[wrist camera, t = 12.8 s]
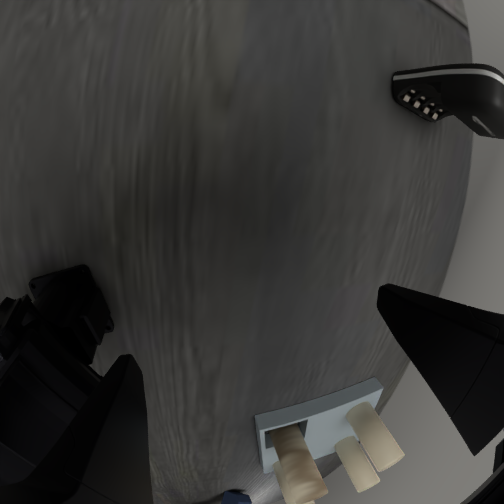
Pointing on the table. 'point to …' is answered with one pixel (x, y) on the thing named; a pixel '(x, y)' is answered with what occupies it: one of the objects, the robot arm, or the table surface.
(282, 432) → the loose leg
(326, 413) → the stool seat
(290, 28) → the table surface
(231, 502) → the glue gun
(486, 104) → the battery charger
